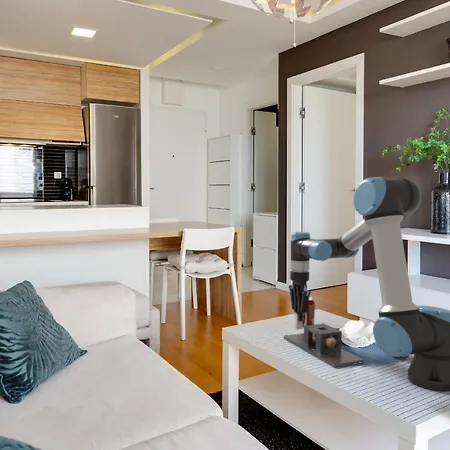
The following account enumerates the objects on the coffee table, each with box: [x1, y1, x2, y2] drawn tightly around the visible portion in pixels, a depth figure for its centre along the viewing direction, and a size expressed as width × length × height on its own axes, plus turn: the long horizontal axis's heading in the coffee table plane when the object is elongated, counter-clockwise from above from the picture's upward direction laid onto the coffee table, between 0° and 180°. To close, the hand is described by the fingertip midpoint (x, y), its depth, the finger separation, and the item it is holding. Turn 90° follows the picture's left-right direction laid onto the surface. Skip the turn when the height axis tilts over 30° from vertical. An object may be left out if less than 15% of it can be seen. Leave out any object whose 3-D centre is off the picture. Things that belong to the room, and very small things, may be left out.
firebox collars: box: [283, 323, 364, 369], centre depth 176 cm, size 34×12×8 cm, turn 23°
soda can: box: [303, 297, 316, 327], centre depth 208 cm, size 7×7×12 cm
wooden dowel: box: [313, 333, 336, 348], centre depth 176 cm, size 16×4×4 cm, turn 23°
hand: (298, 328), depth 190 cm, fingers closed
